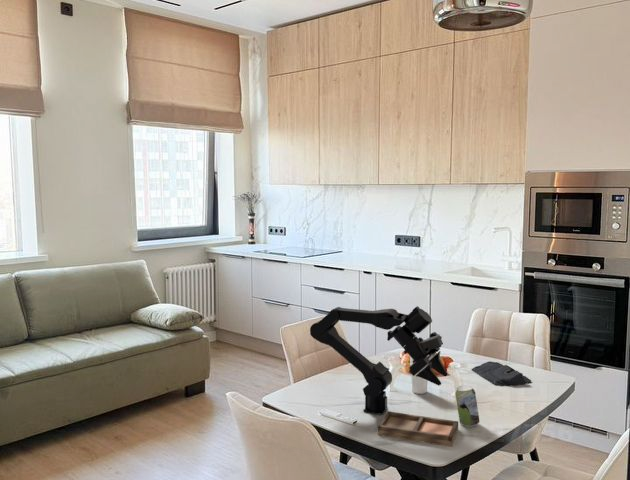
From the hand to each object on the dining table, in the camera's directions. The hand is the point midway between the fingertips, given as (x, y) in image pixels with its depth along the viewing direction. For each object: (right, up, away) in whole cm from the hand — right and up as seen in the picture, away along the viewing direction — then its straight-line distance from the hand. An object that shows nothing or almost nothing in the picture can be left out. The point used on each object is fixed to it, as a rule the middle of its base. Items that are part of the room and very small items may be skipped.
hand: (443, 379), depth 182 cm
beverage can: (+7, -14, -1) cm, 16 cm away
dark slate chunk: (+32, -10, +43) cm, 54 cm away
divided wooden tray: (-9, -14, -7) cm, 18 cm away
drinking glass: (-3, -11, +27) cm, 30 cm away
